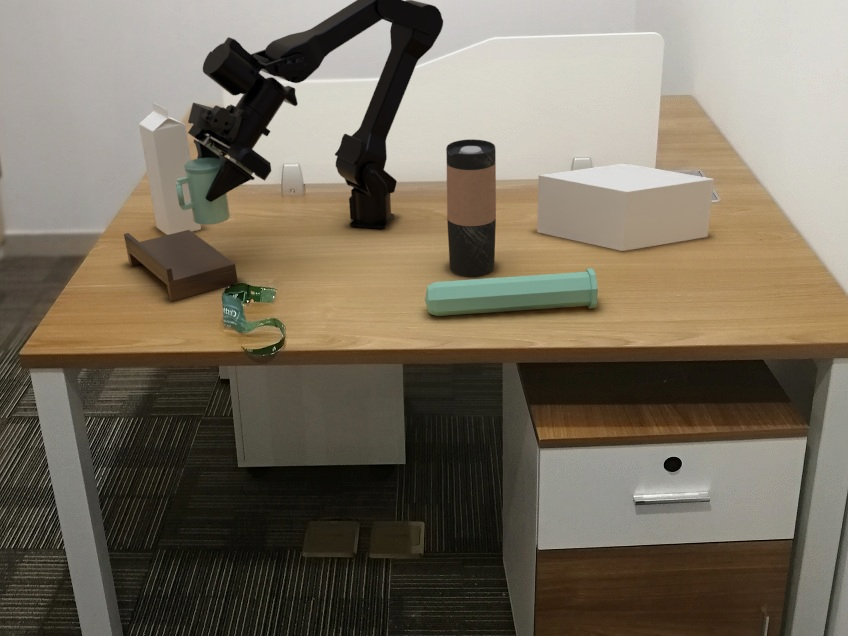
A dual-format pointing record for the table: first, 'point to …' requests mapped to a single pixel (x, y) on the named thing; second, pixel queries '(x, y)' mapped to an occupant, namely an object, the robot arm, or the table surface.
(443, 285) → the container
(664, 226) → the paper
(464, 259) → the travel mug
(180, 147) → the milk
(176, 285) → the shelf
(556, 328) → the table surface
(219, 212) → the green mug
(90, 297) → the table surface
